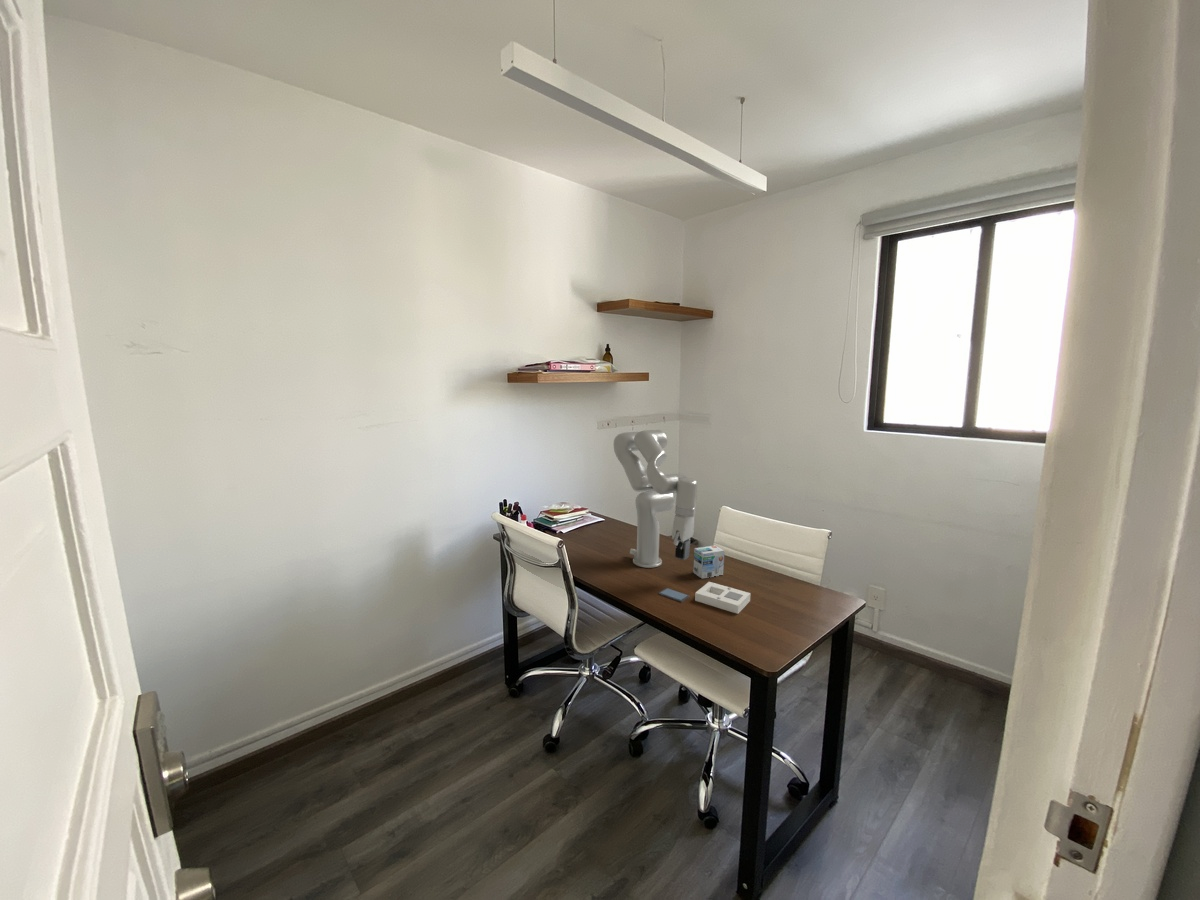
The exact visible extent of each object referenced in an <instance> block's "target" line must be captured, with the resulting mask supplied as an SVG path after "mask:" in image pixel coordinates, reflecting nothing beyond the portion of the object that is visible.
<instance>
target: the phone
mask: <svg viewBox="0 0 1200 900" xmlns="http://www.w3.org/2000/svg"><path fill="white" fill-rule="evenodd" d="M657 594H658V595H660V596H662V597H665V598H668V599H671V600H673V601H676V602H679V603H683V602H684V601H686V600H687V599H689V598H691V595H689V594H686V593H683V592H680V591H678V590H675V589H672V588H668V587H666V588H664V589H663V590H660V591H659V592H658V593H657Z"/></svg>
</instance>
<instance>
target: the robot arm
mask: <svg viewBox="0 0 1200 900" xmlns="http://www.w3.org/2000/svg"><path fill="white" fill-rule="evenodd" d="M667 445H668V437H667V435H666V433H665V432H664V431H663V430H662V429H661V430H660V429H650V430H647V429H645V430H641V431H626V432H621V433H619V434H617V435H616V436H615V437H614V439H613V452H614V454H615V456H616V458H617V460H618V461H619V463H620V465H622V468H623V470H624V472H625V475H626V476H627V477H626V478H627V479H628V482H629V484H630V486H631V488H632V490H634V492H638V493H639V492H640V493H639V494H637V496H636V497H635V509H636V516H637V518H636V519H637V520H636V523H637V525H636V527H637V528H636V529H637V530H636V548H632V547H631V548H630V550H629V555H631V556H634V557H633V558H632V563H633V564H634V565H635V566H637V567H641V568H648V569H650V568H651V569H652V568H657V567H660V566H661V565H662V564H663V560H662V558H661V557H659V555H660V551H659V550H660V521H659V519H658V517H657V516H656V514H658V513H663V512H668V511H671V510H673V509H674V508H675V509H674V510H675V512H674V514H675V516H674V519H673V524H672V531H671V533H672V534H671V540H673V545H674V546H675V551H676V552H674V553H675V554H674V558H675V557H678V558H681V559H680V560H682V558H683V555H684V549H683V545H684V541H686V540H687V539H688V540H690V541H691V539H692V537H693V536H694V533H695V516H696V507H697V497H698V496H697V495H698V494H697V493H698V482H697V480H695V479H694V478H689V477H688V475H686V474H684V473H669V474H665V473H664V472H663V471H662V470H660V469H659V468H658V467H660V466H661V465H663V464H664V463H665V461H666V459H667V452H666V451H665V450H664V448H666V447H667ZM634 451H635V452H636V451H639V452H640V454H641V455H642V457H643V458H644V459H645V461H646V463H647V465H646V467H645V466H644V464H643V462H642V460H641V458H639V456H638V455H637V454H635V453H634ZM674 494H676V495H674ZM675 496H676V498H675ZM679 539H681V540H679ZM679 542H681V544H680V543H679ZM678 558H677V559H678Z"/></svg>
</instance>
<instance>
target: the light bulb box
mask: <svg viewBox="0 0 1200 900" xmlns="http://www.w3.org/2000/svg"><path fill="white" fill-rule="evenodd" d="M693 551H694V553H693V571H692V572H693V574H694V575H696V576H698V577H699V578H701V579H708V578H709V577H710V578H715V577H714V576H716V577H720V576H719V575H723V576H724V564H725V549H722V548H721V547H719V546H717V545H715V544H714V545H709V546H702V547H694V550H693Z"/></svg>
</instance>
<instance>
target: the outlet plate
mask: <svg viewBox="0 0 1200 900" xmlns="http://www.w3.org/2000/svg"><path fill="white" fill-rule="evenodd" d="M694 601H695V602H698V603H702V604H705V605H708V606H711V607H715V608H718V609H721V610H724V611H727V612H731V613H733V614H739V613H740V612H742V610H743V609H744V608H745V607H747V605H749V603H750V602H751V592H747V591H744V590H741V589H736V588H733V587H730V586H727V585H722V584H719V583H715V582H711V581H708V582H707V583H705V584H704V585H703V586H702V587H701V588H699V589H698V590H697V591H696V592H695V594H694Z"/></svg>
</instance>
